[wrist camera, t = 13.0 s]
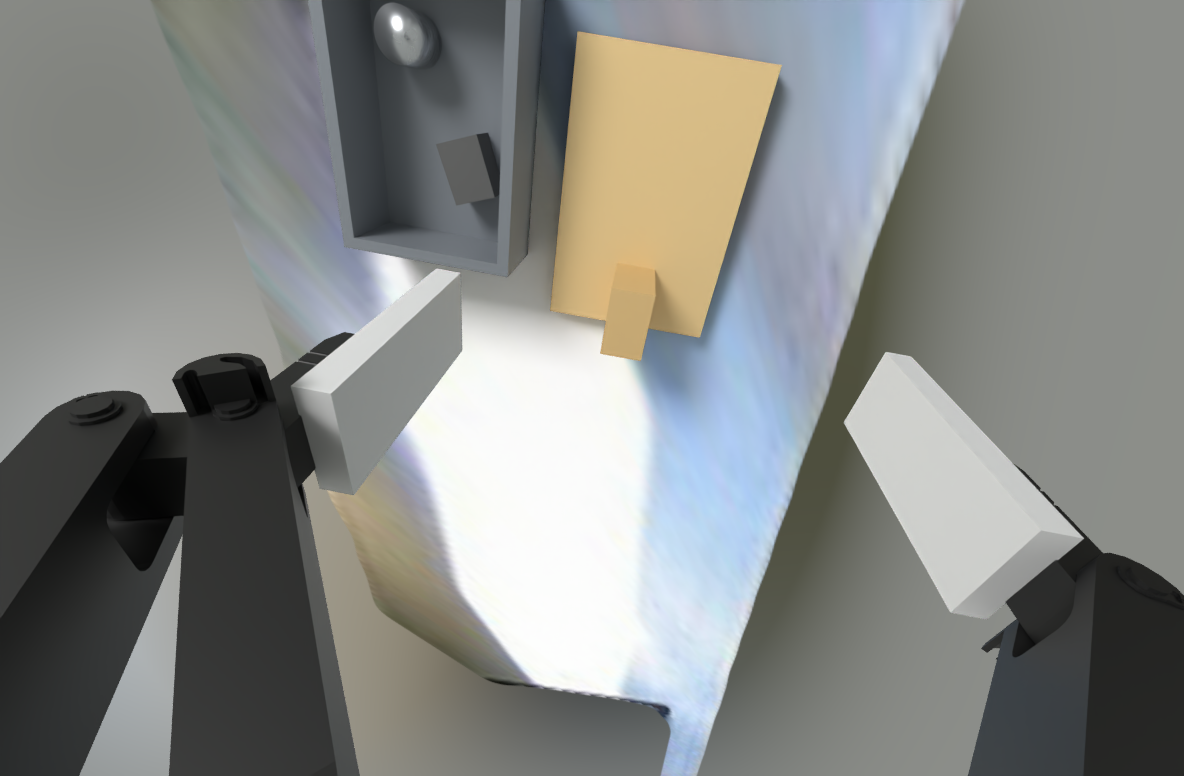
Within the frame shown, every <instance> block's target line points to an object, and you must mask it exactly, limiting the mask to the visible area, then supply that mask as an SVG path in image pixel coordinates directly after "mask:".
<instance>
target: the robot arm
mask: <svg viewBox="0 0 1184 776" xmlns="http://www.w3.org/2000/svg"><path fill="white" fill-rule="evenodd" d="M461 351H462V312H461V273H459V272H453V271H448V270H443V269H437V268H436V269H435V270H434V271H432V272H431V273H430V274H429V275H427V276H426V277H425V278H424V279H423V280H421V281H420V282H419V283H418V284H416V285H415V286H414V287H413V288H411V289H410V290H409V291H408V292H406V293H405V294H404V295H403V296H401V297H400V298H399V299H398V300H397V301H395V302H394V303H393V304H392V305H390V306H389V307H388V308H387V309H385V310H384V311H383V312H382V313H380V314H379V315H378V316H377V317H375V318H374V319H373V320H372V321H371V322H369V323H368V324H367V325H366V326H364V327H363V328H362V329H361V330H359V331H358V332H357V333H356V334H352V333H346V332H344V333H341V334H339V335H336V336H333V337H331V338H328V339H326V340H324V341H322V342H321V343H320V344H318V345H317V346H316V347H314V348H313V349H312V350H310V353H306V354H305V355H304V356H302V357H301V358H300V359H298V360H299V361H298V362H294V363H293V364H292V365H290V366H289V367H288V368H286V369H285V370H284V371H282V372H281V373H280V374H279V375H277V376H276V377H275V378H273V379H272V380H271V381H270V379H269V375H268V373H267V369H266V366H265V364H264V363H263V361H262V360H261V359H260V358H257V357H255V356H253V355H249V354H241V353H231V354H218V355H214V356H209V357H205V358H201V359H199V360H196V361H194V362H191V363H189V364H187V365H185V366H184V367H183V368H181V369H180V370H178V371H177V372H176V374H175V376H174V377H173V379H172V380H173V383H174V385H175V387H176V389H177V391H178V394H179V396H180V398H181V400H182V402H183V404H184V407H185V409H186V411H187V412H181V413H180V412H179V413H178V412H177V413H152V412H151V410H150V409H149V406H148V404H147V403H146V401H145V399H144V398H143V397H142V396H141V395H140V394H137V393H133V392H130V391H109V392H101V393H93V394H87V396H81V397H78V398H75V399H73V400H71V401H69V402H67V403H64V404H62V405H60V406H58V407H56V408H55V409H53V410H52V411H51V412H49V413H48V414H47V415H45V416H44V417H43V418H42V419H41V420H40V421H39V423H38V424H37V425H36V426H35V427H34V428H33V429H32V430H31V431H30V432H29V433H28V434H27V435H26V436H25V438H24V439H23V440H22V441H21V442H20V443H19V444H18V445H17V446H16V447H15V448H14V449H13V450H12V451H11V453H10V454H9V455H8V456H7V457H6V458H5V459H4V460H3V461H2V462H1V463H0V776H79V775H80V772H81V770H82V768H83V765H84V763H85V761H86V758H87V756H88V753H89V751H90V749H91V747H92V744H93V742H94V740H95V737H96V735H97V733H98V730H99V728H100V726H101V723H102V721H103V719H104V716H105V714H106V712H107V709H108V707H109V705H110V702H111V700H112V698H113V695H114V693H115V690H116V688H117V686H118V684H119V681H120V679H121V677H122V674H123V672H124V670H125V667H126V665H127V663H128V660H129V658H130V656H131V653H132V651H133V649H134V646H135V644H136V642H137V639H138V637H139V635H140V632H141V630H142V628H143V625H144V623H145V621H146V618H147V616H148V614H149V611H150V609H151V606H152V604H153V602H154V600H155V597H156V595H157V592H158V590H159V588H160V585H161V583H162V581H163V579H164V576H165V574H166V572H167V569H168V567H169V565H170V562H171V560H172V558H173V555H174V553H175V551H176V548H177V546H178V544H179V541H180V539H181V537H182V534H183V541H182V557H181V576H180V594H179V610H178V628H177V646H176V662H175V680H174V697H173V715H172V733H171V734H172V735H171V752H170V768H169V776H360V774H359V769H358V764H357V759H356V754H355V748H354V743H353V738H352V733H351V729H350V723H349V718H348V713H347V707H346V702H345V697H344V691H343V686H342V681H341V676H340V671H339V666H338V660H337V656H336V650H335V645H334V640H333V634H332V629H331V624H330V619H329V613H328V608H327V603H326V598H325V593H324V588H323V582H322V577H321V572H320V567H319V561H318V557H317V551H316V546H315V541H314V535H313V530H312V525H311V520H310V515H309V509H308V504H307V499H306V494H305V490H304V487H303V484H302V483H303V482H304V481H305V479H306V478H307V477H308V476H309V475H310V474H311V473H312V472H313V471H314V470H315V473H316V477H317V480H318V484H319V487H320V489H325V490H330V491H335V492H340V493H345V494H350V495H354V494H355V493H356V492H357V490H358V489H359V488H360V486H361V485H362V484H363V482H364V481H365V480H366V478H367V477H368V475H369V474H370V473H371V471H372V470H373V469H374V467H375V466H376V465H377V463H378V462H379V461H380V459H381V458H382V457H383V455H384V454H385V453H386V451H387V450H388V449H389V447H390V446H391V445H392V443H393V442H394V441H395V439H396V438H397V437H398V435H399V434H400V433H401V431H402V430H403V429H404V427H405V426H406V425H407V423H408V422H409V421H410V419H411V418H412V417H413V415H414V414H415V413H416V411H417V410H418V409H419V407H420V406H421V405H422V403H423V402H424V401H425V399H426V398H427V397H428V395H429V394H430V393H431V391H432V390H433V389H434V387H435V386H436V385H437V383H438V382H439V381H440V379H441V378H442V377H443V375H444V374H445V373H446V371H447V370H448V369H449V367H450V366H451V365H452V363H453V362H454V361H455V359H456V358H457V357H458V355H459V354H460V353H461ZM844 423H845V425H846V427H847V429H848V430H849V432H850V433H851V436H852V438H853V439H854V441H855V443H856V445H857V446H858V448H859V450H860V452H861V454H862V456H863V457H864V459H865V461H866V463H867V464H868V466H869V468H870V470H871V472H872V473H873V475H874V477H875V479H876V480H877V482H878V484H879V486H880V488H881V490H882V491H883V493H884V495H885V497H886V498H887V500H888V502H889V504H890V506H891V507H892V509H893V511H894V513H895V515H896V516H897V518H898V520H899V522H900V523H901V525H902V527H903V529H904V530H905V532H906V534H907V536H908V538H909V539H910V541H911V543H912V545H913V546H914V548H915V550H916V552H917V554H918V556H919V557H920V559H921V561H922V563H923V564H924V566H925V568H926V570H927V571H928V573H929V575H930V577H931V579H932V581H933V582H934V584H935V586H936V588H937V589H938V591H939V593H940V595H941V597H942V598H943V600H944V602H945V604H946V606H947V607H948V609H949V611H950V612H951V613H955V614H961V615H966V616H971V617H976V618H981V619H988V618H989V617H990V616H991V615H992V614H994V613H995V612H996V611H997V610H998V609H1000V608H1001V607H1002V606H1003V605H1004V604H1006V603H1007V605H1008V606H1009V608H1010V609H1011V611H1012V612H1013V614H1014V615H1015V617H1016V618H1017V619H1016V620H1015V621H1014V622H1012V623H1011V624H1010V625H1008V626H1007V627H1006V628H1005V629H1003V630H1002V631H1001V632H999V633H998V634H997V635H996V636H994V637H993V638H992V639H990V640H989V641H988V642H987V643H985V645H984V646H983V647H982V649H983V650H984V651H985V652H989V651H990V650H992V649H993V648H1000V651H999V654H998V657H997V658H996V659H997V663H996V666H995V670H994V674H993V678H992V682H991V686H990V691H989V694H988V698H987V702H986V706H985V710H984V714H983V718H982V722H981V726H980V730H979V734H978V738H977V742H976V746H975V750H974V754H973V758H972V762H971V766H970V770H969V774H968V776H1184V595H1183V594H1182V593H1180V591H1179V590H1178V589H1177V588H1176V587H1174V586H1173V585H1172V584H1171V583H1169V582H1168V581H1167V580H1165V579H1164V578H1163V577H1162V576H1160V575H1159V574H1157V573H1155V572H1154V571H1152V570H1150V569H1149V568H1147V567H1145V566H1144V565H1142V564H1140V563H1137V562H1135V561H1133V560H1131V559H1129V558H1126V557H1124V556H1120V555H1116V554H1112V553H1102V552H1101V551H1100V550H1099V549H1098V547H1096V546H1095V544H1094V543H1093V542H1092V541H1091V540H1090V539H1089V538H1088V537H1087V536H1086V535H1085V534H1084V533H1083V532H1082V531H1081V530H1080V529H1079V528H1078V527H1077V526H1076V525H1075V524H1074V522H1073V521H1072V520H1071V519H1070V518H1069V517H1068V516H1067V515H1066V514H1065V513H1064V512H1063V511H1062V510H1061V509H1060V508H1059V507H1058V506H1055V505H1054V502H1053V501H1052V500H1051V499H1050V498H1049V497H1048V495H1046V493H1045V492H1042V491H1040V487H1039V486H1038V485H1037V484H1036V483H1035V482H1034V481H1033V480H1032V479H1031V478H1030V477H1029V476H1028V475H1027V474H1026V473H1025V472H1024V471H1023V470H1022V469H1020V468H1019V467H1017V466H1016V465H1015V464H1013V463H1012V462H1011V461H1010V460H1009V459H1008V458H1007V457H1006V456H1005V455H1004V454H1003V453H1002V452H1001V451H1000V450H999V449H998V447H997V446H996V445H995V444H994V443H993V442H992V441H991V440H990V439H989V438H988V437H987V436H986V435H985V434H984V433H983V432H982V431H981V430H980V429H979V428H978V426H976V424H975V423H974V422H973V421H972V420H971V419H970V418H969V417H968V416H967V415H966V414H965V413H964V412H963V411H962V410H961V409H960V407H958V405H957V404H956V403H955V402H954V401H953V400H952V399H951V398H950V397H949V396H948V395H947V394H946V393H945V392H944V391H943V390H942V389H941V388H940V386H939V385H938V384H937V383H936V382H935V381H934V380H933V379H932V378H931V377H930V376H929V375H928V374H927V373H926V372H925V371H924V370H923V369H922V368H921V366H919V364H918V363H917V362H916V361H915V360H914V359H913V358H912V357H911V356H905V355H899V354H894V353H889V352H886V353H885V354H884V356H883V358H882V359H881V361H880V363H879V364H878V366H877V368H876V369H875V371H874V373H873V375H872V376H871V378H870V380H869V381H868V383H867V385H866V386H865V388H864V390H863V392H862V393H861V395H860V396H859V398H858V400H857V401H856V403H855V405H854V407H853V408H852V410H851V411H850V413H849V415H848V417H847V418H846V420H845V422H844Z"/></svg>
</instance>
